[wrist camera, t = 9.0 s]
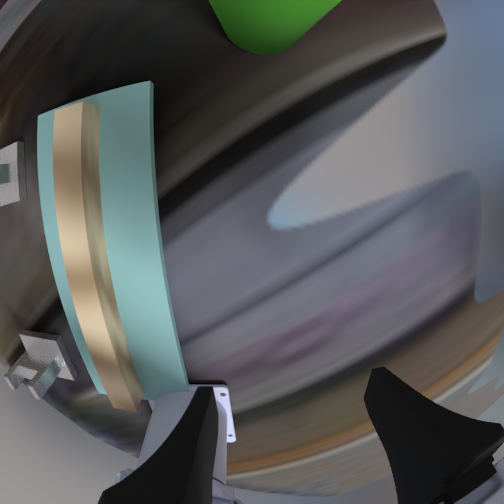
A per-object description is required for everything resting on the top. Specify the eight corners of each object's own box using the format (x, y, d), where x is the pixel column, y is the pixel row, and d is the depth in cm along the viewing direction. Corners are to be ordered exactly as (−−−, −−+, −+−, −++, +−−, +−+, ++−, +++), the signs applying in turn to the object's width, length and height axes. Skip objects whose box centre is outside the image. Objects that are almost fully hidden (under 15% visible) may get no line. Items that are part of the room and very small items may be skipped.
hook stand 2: (77, 374, 22) (53, 414, 16) (40, 366, 21) (15, 399, 16) (60, 335, 20) (28, 373, 14) (24, 329, 20) (-8, 360, 14)
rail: (143, 393, 21) (137, 411, 19) (121, 390, 21) (113, 407, 19) (100, 107, 14) (82, 101, 12) (73, 115, 14) (54, 110, 12)
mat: (192, 396, 22) (191, 402, 22) (101, 388, 22) (98, 393, 21) (153, 83, 15) (150, 80, 14) (43, 116, 14) (38, 115, 14)
